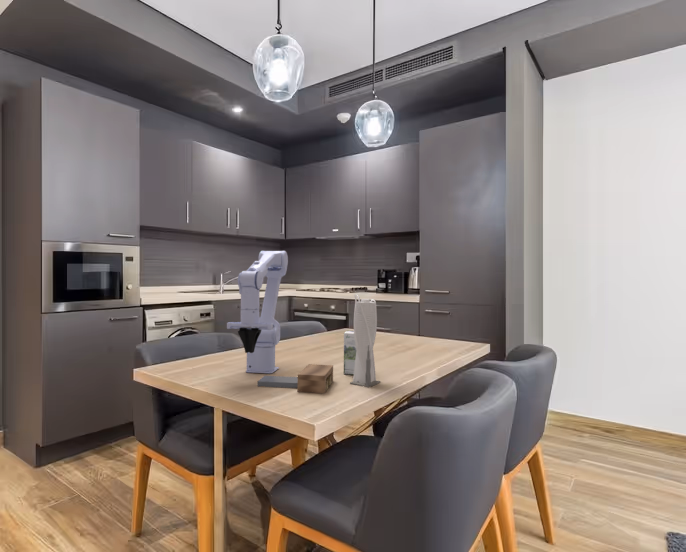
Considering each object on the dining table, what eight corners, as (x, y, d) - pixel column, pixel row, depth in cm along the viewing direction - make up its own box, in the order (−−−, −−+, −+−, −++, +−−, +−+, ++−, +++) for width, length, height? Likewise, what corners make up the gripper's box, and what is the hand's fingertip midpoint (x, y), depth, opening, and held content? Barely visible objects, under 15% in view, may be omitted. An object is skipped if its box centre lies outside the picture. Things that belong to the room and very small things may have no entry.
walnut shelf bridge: (297, 391, 118) (297, 374, 118) (308, 379, 131) (308, 364, 131) (324, 393, 117) (324, 375, 117) (333, 380, 130) (333, 365, 130)
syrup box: (363, 371, 143) (363, 330, 142) (359, 376, 137) (359, 333, 137) (347, 370, 144) (347, 329, 144) (343, 374, 138) (343, 332, 138)
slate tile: (257, 387, 123) (257, 381, 123) (264, 381, 130) (264, 375, 130) (299, 389, 122) (299, 383, 122) (304, 383, 129) (304, 377, 129)
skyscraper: (346, 383, 128) (347, 294, 128) (359, 377, 135) (360, 293, 134) (369, 387, 123) (370, 295, 123) (381, 381, 130) (383, 294, 130)
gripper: (222, 309, 125) (222, 353, 125) (267, 310, 122) (267, 355, 122) (232, 307, 132) (232, 349, 132) (275, 308, 129) (274, 351, 129)
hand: (249, 352), depth 128 cm, fingers closed
